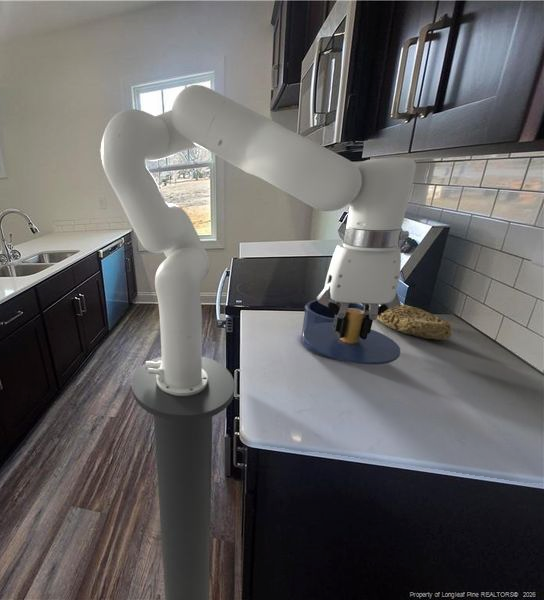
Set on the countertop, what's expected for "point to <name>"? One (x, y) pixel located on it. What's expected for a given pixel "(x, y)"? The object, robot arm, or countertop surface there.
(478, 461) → the countertop surface
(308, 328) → the lid
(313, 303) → the pot
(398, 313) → the sponge
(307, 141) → the robot arm
